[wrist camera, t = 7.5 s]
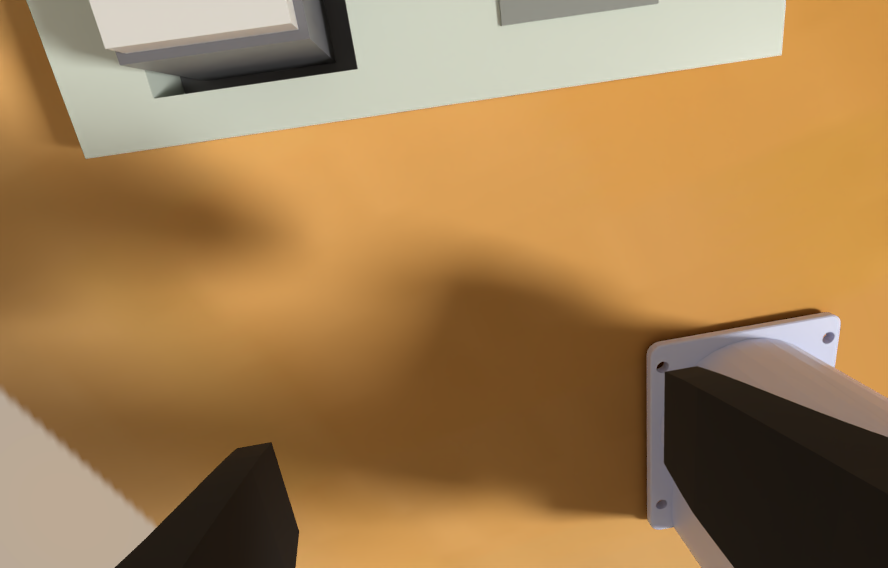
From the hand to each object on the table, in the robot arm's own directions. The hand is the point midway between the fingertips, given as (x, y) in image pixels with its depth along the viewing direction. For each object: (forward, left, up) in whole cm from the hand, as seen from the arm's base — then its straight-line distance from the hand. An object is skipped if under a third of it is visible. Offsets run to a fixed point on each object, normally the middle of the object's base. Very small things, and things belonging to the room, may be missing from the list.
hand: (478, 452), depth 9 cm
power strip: (+10, -4, -10) cm, 15 cm away
